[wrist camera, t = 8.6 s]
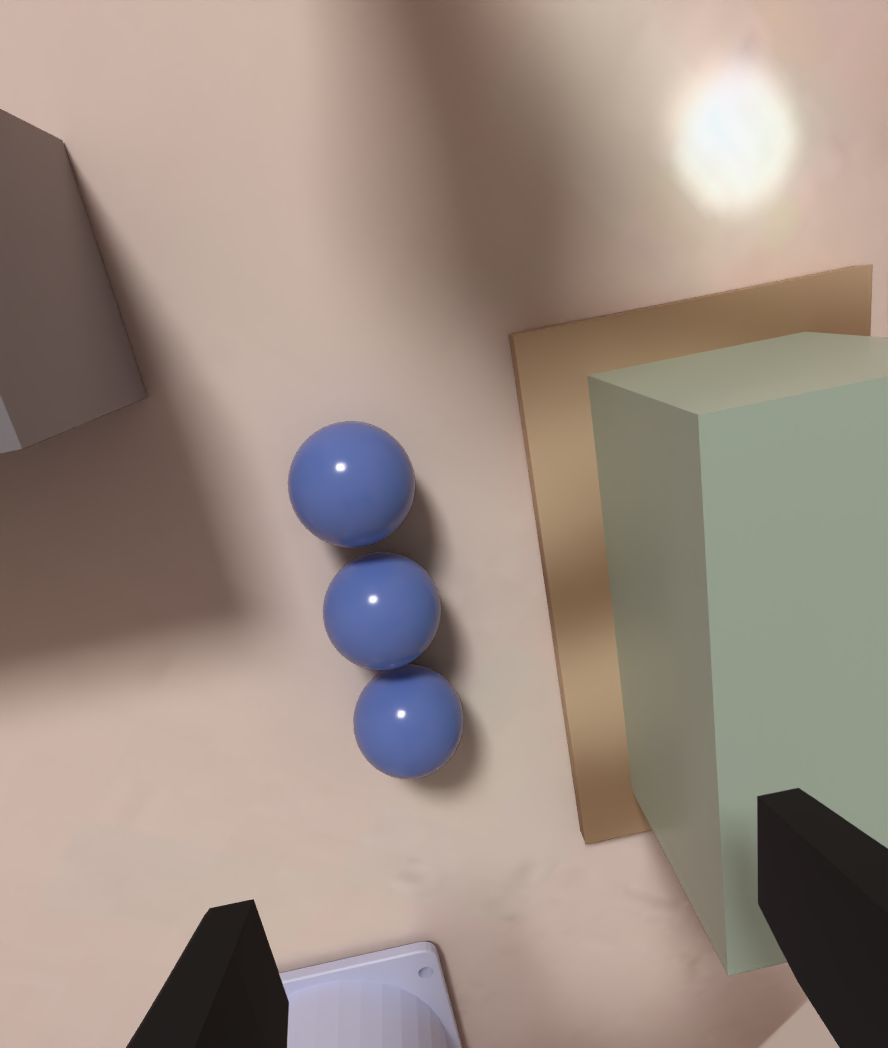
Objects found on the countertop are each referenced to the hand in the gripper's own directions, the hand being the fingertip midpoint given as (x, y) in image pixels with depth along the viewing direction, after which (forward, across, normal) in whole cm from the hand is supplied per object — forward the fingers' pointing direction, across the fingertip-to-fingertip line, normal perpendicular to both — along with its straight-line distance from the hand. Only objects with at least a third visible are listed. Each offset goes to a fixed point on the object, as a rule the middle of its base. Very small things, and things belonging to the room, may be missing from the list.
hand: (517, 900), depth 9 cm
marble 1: (+10, +2, -4) cm, 11 cm away
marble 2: (+10, +2, -1) cm, 10 cm away
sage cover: (+9, -7, +1) cm, 12 cm away
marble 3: (+10, +2, +3) cm, 10 cm away
